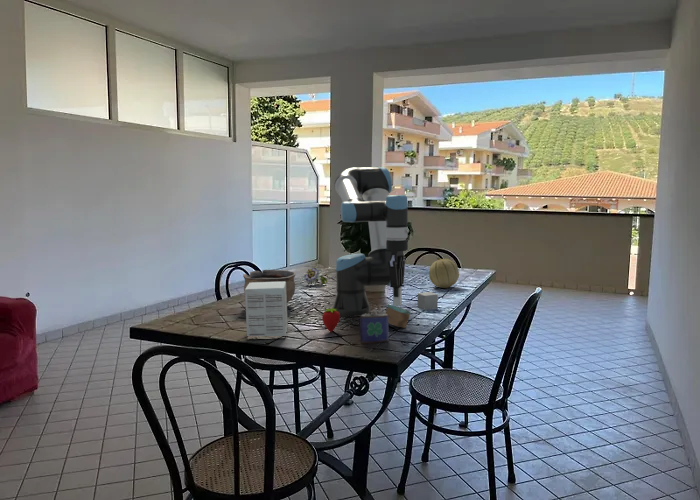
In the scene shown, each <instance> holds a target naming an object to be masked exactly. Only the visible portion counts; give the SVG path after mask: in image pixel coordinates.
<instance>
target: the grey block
mask: <svg viewBox="0 0 700 500" xmlns="http://www.w3.org/2000/svg"><path fill="white" fill-rule="evenodd" d="M438 297H439V296H438V294H437V293H434V292H431V291H426V292H418V293H417V308H419V309H421V310H424V311H427V310H428V311H429V310H436V309H438V306H439V304H438V302H439V299H438Z"/></svg>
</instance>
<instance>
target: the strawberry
mask: <svg viewBox="0 0 700 500" xmlns="http://www.w3.org/2000/svg"><path fill="white" fill-rule="evenodd" d="M333 305H334V303H333V304H331V305H330V307H332V308H325V309H324V311H323V314H322V316H321V317H322V318H321V320H322V323H323V324H324V327H325V328H326V329H327V330H328V332H329V331H330V332H329V333H333V332H334V330H335V329H336V327H337V326H338V324H339V323H340V319H341V316H340V313H339V312H338V311H336V310H337V309H333ZM332 331H333V332H332Z"/></svg>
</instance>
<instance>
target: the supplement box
mask: <svg viewBox="0 0 700 500" xmlns="http://www.w3.org/2000/svg"><path fill="white" fill-rule="evenodd" d="M244 296H245V297H244V298H245V299H244V301H245V320H246V325H245V326H246V337H247V336H286V337H287V334H286V332H287V333H288V329H287V327H288V326H289V325H288V303H287V295H286V282H285V281H283V282H252V283H249V284H248V286H247V287H246V289H245V292H244ZM288 328H289V327H288Z"/></svg>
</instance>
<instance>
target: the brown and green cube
mask: <svg viewBox="0 0 700 500" xmlns="http://www.w3.org/2000/svg"><path fill="white" fill-rule="evenodd" d="M411 313H412V312H411V311H409V310H407V309H404V308H402V307H400V306H394V305H393V304H392V305H391V304H387V308H386V310H385V313H384V314H387V315H388V324H390V325H392V326H395V327H398V328H405V329H406V328H407V324H408V323H409V319H410V316H411Z"/></svg>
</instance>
